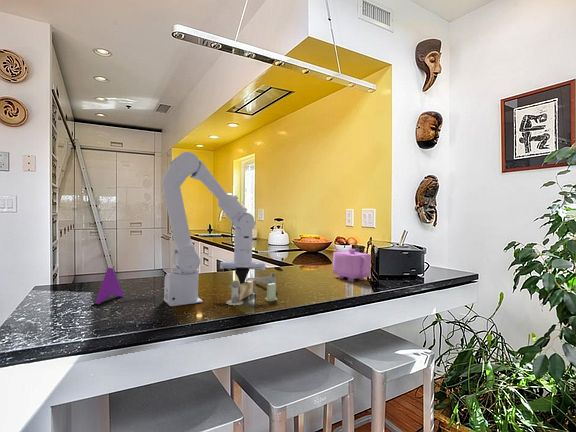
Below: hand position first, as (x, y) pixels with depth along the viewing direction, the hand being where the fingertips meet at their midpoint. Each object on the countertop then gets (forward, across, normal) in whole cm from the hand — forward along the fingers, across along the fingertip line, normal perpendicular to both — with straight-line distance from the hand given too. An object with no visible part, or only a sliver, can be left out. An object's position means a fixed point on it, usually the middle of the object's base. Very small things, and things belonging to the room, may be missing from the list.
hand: (242, 291), depth 109 cm
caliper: (+2, +4, +15) cm, 16 cm away
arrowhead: (+2, -38, -11) cm, 39 cm away
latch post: (+2, +10, -4) cm, 11 cm away
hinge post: (+1, 0, -9) cm, 9 cm away
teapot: (+2, +39, +35) cm, 52 cm away
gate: (+1, +1, -2) cm, 3 cm away
